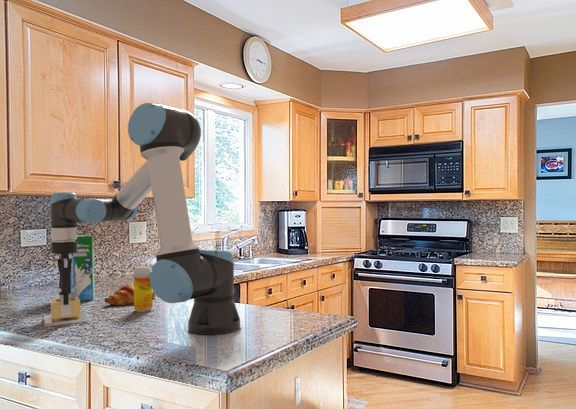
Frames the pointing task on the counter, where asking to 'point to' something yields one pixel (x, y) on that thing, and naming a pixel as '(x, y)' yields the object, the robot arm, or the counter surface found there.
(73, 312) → the yellow hollow block
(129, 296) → the croissant
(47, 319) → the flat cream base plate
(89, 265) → the milk carton
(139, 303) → the yellow bottle
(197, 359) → the counter surface
